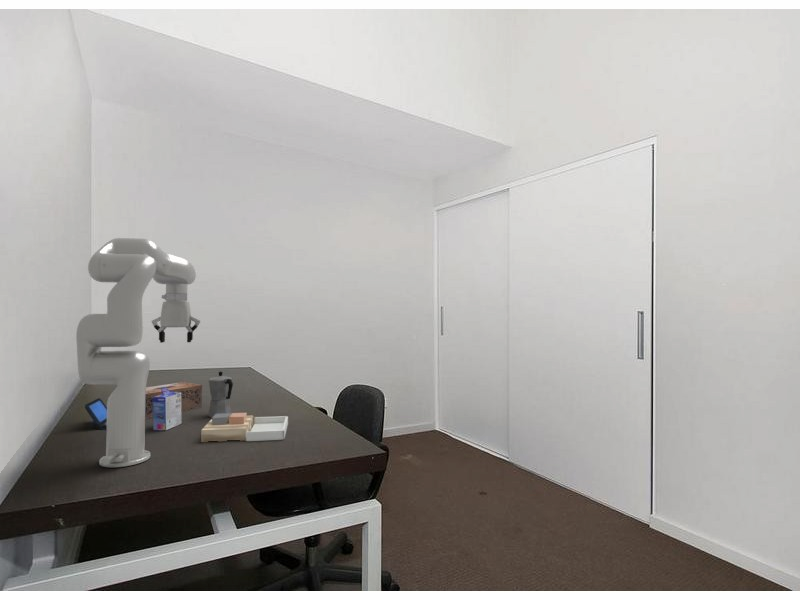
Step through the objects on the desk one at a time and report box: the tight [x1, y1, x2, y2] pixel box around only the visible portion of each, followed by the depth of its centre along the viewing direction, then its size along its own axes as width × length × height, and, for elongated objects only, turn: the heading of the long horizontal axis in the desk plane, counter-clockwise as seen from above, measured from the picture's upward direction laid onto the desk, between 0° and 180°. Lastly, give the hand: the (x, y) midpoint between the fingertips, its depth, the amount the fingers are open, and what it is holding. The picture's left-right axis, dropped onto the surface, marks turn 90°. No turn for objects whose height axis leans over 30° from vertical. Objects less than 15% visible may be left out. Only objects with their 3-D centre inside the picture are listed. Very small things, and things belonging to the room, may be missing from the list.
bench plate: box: [200, 415, 254, 443], centre depth 157 cm, size 18×14×4 cm
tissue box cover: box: [145, 381, 203, 419], centre depth 192 cm, size 26×14×10 cm, turn 149°
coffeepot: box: [208, 371, 234, 419], centre depth 184 cm, size 15×9×18 cm, turn 51°
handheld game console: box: [84, 397, 107, 430], centre depth 170 cm, size 16×13×9 cm
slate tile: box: [211, 412, 232, 425], centre depth 157 cm, size 6×5×2 cm
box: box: [245, 415, 289, 442], centre depth 160 cm, size 21×12×3 cm, turn 11°
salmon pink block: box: [229, 412, 248, 424], centre depth 158 cm, size 6×5×2 cm
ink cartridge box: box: [152, 387, 182, 431], centre depth 166 cm, size 10×6×14 cm, turn 174°
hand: (175, 342), depth 174 cm, fingers open, 9 cm apart
